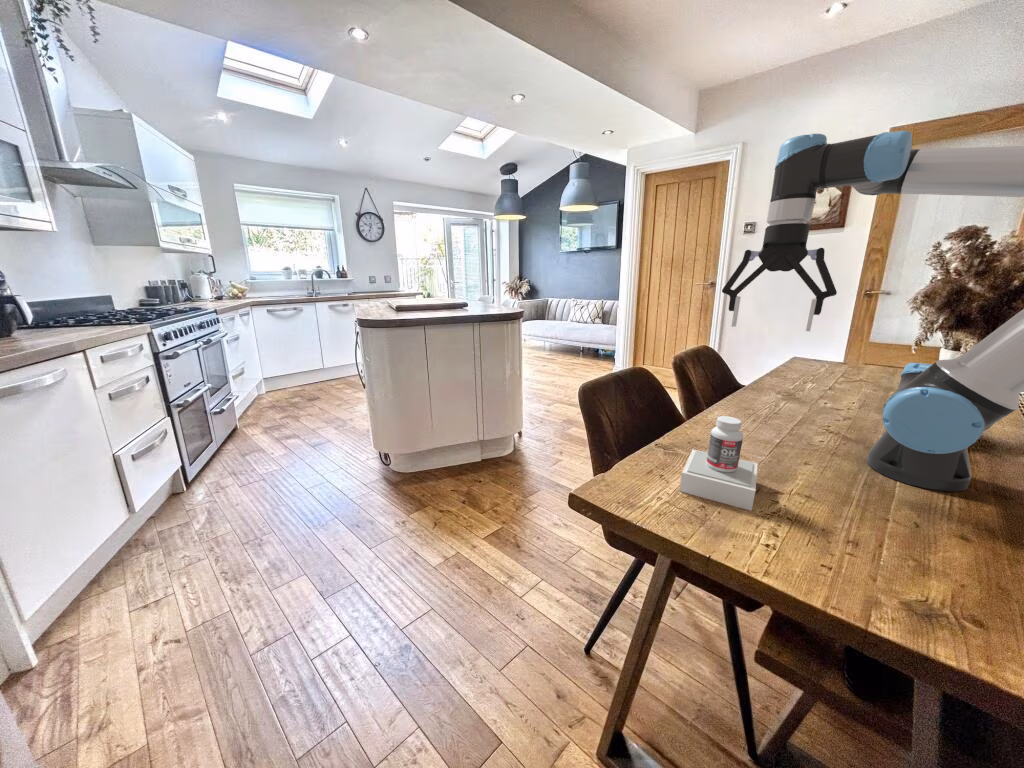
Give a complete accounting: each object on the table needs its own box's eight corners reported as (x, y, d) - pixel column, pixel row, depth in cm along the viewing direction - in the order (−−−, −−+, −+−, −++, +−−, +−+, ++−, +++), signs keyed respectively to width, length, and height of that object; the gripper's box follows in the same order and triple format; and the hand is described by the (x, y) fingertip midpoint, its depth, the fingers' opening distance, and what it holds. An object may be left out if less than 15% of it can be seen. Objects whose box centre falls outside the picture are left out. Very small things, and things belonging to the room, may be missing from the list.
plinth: (754, 481, 79) (758, 462, 78) (751, 510, 69) (755, 489, 68) (690, 466, 85) (692, 447, 84) (679, 491, 75) (682, 471, 74)
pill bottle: (721, 475, 73) (729, 426, 70) (699, 462, 78) (706, 416, 75) (744, 471, 74) (752, 422, 71) (721, 458, 79) (729, 413, 76)
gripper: (864, 221, 76) (839, 330, 82) (721, 229, 89) (708, 322, 95) (872, 217, 70) (844, 335, 76) (717, 226, 83) (704, 326, 89)
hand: (769, 328), depth 86 cm, fingers open, 13 cm apart
